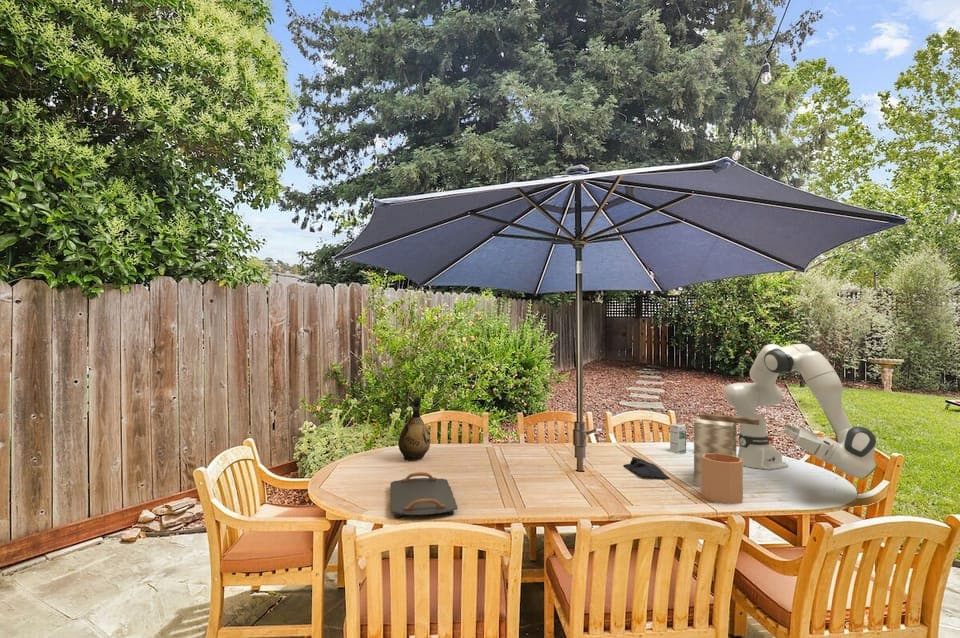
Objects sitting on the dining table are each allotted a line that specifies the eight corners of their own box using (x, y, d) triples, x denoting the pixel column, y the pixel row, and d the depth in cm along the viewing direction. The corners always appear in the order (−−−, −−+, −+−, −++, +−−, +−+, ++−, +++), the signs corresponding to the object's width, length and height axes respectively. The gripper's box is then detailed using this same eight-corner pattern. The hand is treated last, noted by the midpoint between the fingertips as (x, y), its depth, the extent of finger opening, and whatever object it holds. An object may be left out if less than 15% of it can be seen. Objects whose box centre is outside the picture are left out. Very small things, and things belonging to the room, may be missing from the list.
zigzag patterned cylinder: (736, 477, 215) (736, 417, 215) (731, 491, 196) (732, 426, 196) (701, 472, 222) (701, 414, 222) (693, 485, 203) (694, 422, 204)
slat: (759, 423, 203) (759, 418, 203) (758, 425, 199) (758, 420, 199) (701, 417, 214) (701, 413, 214) (699, 419, 211) (699, 414, 211)
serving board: (390, 486, 200) (390, 471, 200) (446, 483, 204) (446, 468, 205) (390, 524, 162) (390, 505, 162) (460, 519, 166) (460, 501, 167)
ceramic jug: (428, 463, 233) (429, 399, 233) (395, 462, 233) (396, 399, 233) (432, 454, 250) (432, 394, 250) (401, 453, 250) (402, 394, 250)
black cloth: (637, 480, 211) (637, 469, 211) (621, 466, 233) (622, 456, 233) (672, 480, 211) (672, 469, 211) (654, 466, 233) (654, 456, 233)
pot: (724, 489, 198) (724, 452, 199) (751, 501, 185) (751, 461, 185) (694, 492, 195) (694, 454, 195) (719, 504, 181) (719, 463, 182)
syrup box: (678, 454, 254) (678, 425, 254) (669, 451, 259) (669, 423, 260) (686, 452, 257) (686, 425, 257) (677, 450, 262) (677, 423, 262)
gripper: (827, 436, 197) (790, 417, 204) (827, 446, 180) (787, 424, 187) (818, 449, 198) (782, 429, 205) (818, 460, 182) (779, 438, 189)
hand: (785, 427), depth 196 cm, fingers open, 8 cm apart
